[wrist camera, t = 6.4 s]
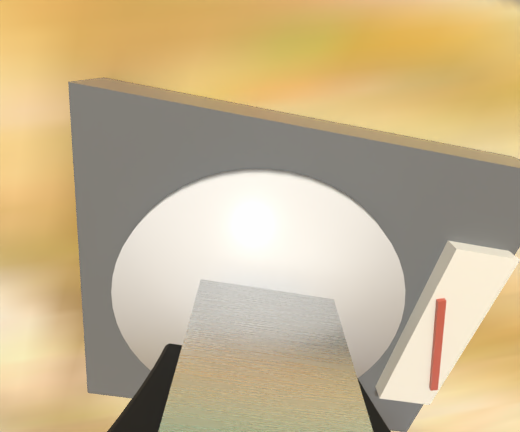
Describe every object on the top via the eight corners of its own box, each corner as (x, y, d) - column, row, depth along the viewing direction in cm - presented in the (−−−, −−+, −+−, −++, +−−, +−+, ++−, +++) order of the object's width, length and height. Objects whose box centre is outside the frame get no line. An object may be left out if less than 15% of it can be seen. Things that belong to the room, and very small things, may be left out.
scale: (513, 156, 13) (584, 184, 10) (389, 389, 19) (412, 448, 16) (103, 77, 12) (53, 83, 9) (108, 352, 18) (79, 408, 15)
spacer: (333, 299, 11) (405, 539, 5) (302, 388, 13) (332, 632, 7) (200, 278, 11) (135, 513, 5) (188, 373, 12) (131, 616, 7)
